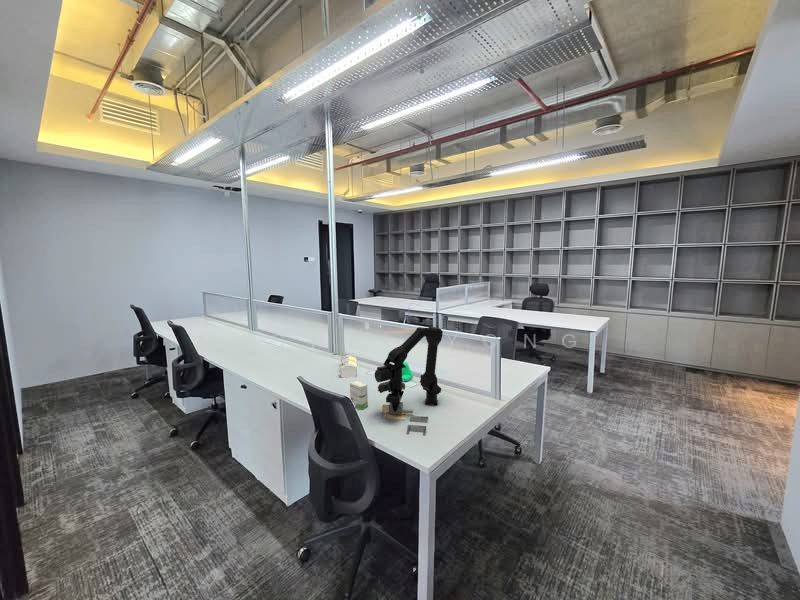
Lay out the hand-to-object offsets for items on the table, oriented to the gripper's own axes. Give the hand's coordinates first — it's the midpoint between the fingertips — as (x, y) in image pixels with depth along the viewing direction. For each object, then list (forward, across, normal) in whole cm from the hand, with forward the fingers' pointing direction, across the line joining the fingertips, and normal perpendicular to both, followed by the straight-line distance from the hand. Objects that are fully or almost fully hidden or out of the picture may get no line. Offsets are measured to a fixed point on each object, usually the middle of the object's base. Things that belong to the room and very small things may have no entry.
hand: (396, 409), depth 156 cm
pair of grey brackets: (+3, +9, +12) cm, 15 cm away
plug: (+1, 0, 0) cm, 1 cm away
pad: (+3, 0, 0) cm, 3 cm away
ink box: (+3, -6, -20) cm, 21 cm away
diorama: (+3, -56, -42) cm, 70 cm away
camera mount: (+3, -48, -5) cm, 48 cm away
